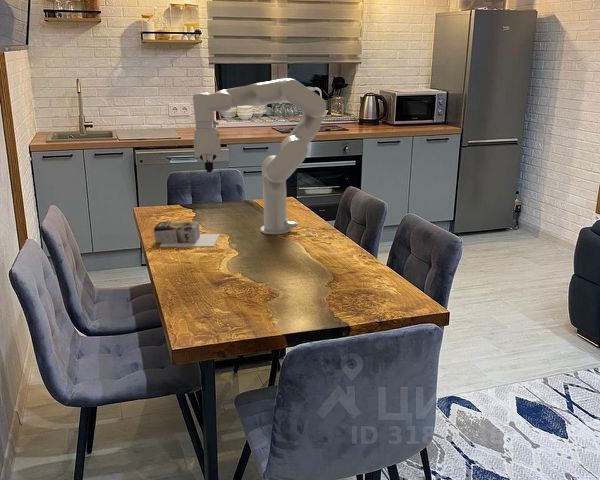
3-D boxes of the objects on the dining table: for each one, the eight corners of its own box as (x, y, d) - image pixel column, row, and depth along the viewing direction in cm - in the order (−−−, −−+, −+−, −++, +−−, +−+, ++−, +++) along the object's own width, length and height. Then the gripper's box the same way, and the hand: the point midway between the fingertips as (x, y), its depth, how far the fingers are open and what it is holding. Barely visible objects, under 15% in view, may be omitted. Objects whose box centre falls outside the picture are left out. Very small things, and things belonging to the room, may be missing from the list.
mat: (220, 234, 244) (220, 234, 244) (213, 246, 229) (213, 246, 229) (169, 234, 245) (169, 234, 245) (159, 246, 230) (159, 245, 230)
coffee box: (194, 227, 231) (153, 227, 231) (195, 243, 233) (154, 243, 233) (199, 221, 239) (159, 221, 239) (199, 236, 241) (160, 236, 242)
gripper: (225, 123, 235) (229, 169, 240) (187, 125, 235) (192, 170, 240) (223, 125, 228) (227, 172, 233) (184, 127, 228) (189, 174, 233)
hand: (209, 171), depth 237 cm, fingers closed
